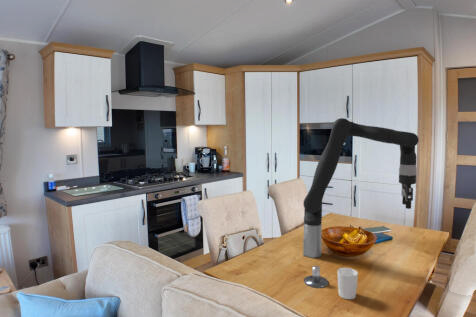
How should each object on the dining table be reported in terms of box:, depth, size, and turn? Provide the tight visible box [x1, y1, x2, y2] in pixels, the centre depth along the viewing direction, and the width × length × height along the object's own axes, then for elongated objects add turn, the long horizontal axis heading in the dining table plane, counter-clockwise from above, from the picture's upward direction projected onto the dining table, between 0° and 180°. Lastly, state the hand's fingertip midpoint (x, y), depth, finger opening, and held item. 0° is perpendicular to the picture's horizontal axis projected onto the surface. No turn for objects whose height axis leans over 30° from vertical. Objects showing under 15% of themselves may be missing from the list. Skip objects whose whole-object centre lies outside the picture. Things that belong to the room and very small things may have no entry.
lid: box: [303, 265, 329, 289], centre depth 142 cm, size 10×10×7 cm
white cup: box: [336, 267, 359, 300], centre depth 131 cm, size 8×8×10 cm
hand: (406, 206), depth 157 cm, fingers open, 8 cm apart
